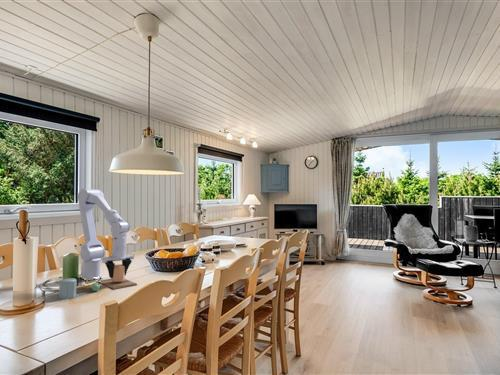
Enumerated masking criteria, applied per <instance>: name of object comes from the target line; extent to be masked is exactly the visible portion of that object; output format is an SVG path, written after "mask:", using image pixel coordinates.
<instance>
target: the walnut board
mask: <svg viewBox="0 0 500 375" xmlns="http://www.w3.org/2000/svg"><path fill="white" fill-rule="evenodd" d="M100 280H101V282H100V283H99V284H102V285H103V286H105V287H108V288H109V289H112V290H114V291H115V290H119V289H125V288H129V287H130V288H131V287H134V286H138V284H137V283H136V282H133V281H131V280H128V279H126V278H125V279H124V280H123V281H119V282H113V281H111V278H106V279H105V278H104V279H100Z"/></svg>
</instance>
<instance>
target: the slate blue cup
mask: <svg viewBox="0 0 500 375" xmlns="http://www.w3.org/2000/svg"><path fill="white" fill-rule="evenodd" d="M77 284H78V280H77V278H74V277H68V278H62V279H60V280H59V286H58V287H59V288H58V290H59V291H58V298H59V299H61V300H68V299H74V298H75V297H76V296H77V286H78V285H77Z"/></svg>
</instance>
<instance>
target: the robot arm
mask: <svg viewBox="0 0 500 375" xmlns="http://www.w3.org/2000/svg"><path fill="white" fill-rule="evenodd" d="M76 195H77V201H78V207H79V214H80V221H81V224H82V230H83V231H82V232H83V236H84V243H82V245H81V246H80V258H81V260H82V262H81V268H80V276H82V277H84V278H93V277H98V276H100V277H101V279H100V280H104V277H102V276H101V263H104V264H105V266H106V268H107V272H108V277H109V279H111V278H113V270H114V266H115V265H116V263H115V262H120V261H121V264H122V265H125V276H127V273H128V269H129V267H130V266H131V264H132V262H133V261H132V260H135V255H134V254H126V249H127V233H129V231H130V228H131V227H130V226H131V225H130V223H129V221H127V220H125V219H123V218H122V217H121V215H120V214H119V213H118V210H116V209H112V208H111V207H110V205H109V203H108V202H107V201H106V199H105V196H104V195H105V194H104V192H103V191H102V190H101V189H99V188H98V189H97V188H94V189H93V188H92V189H91V188H85V187H84V188H81V189H80V190H79V192H78V193H77V194H76ZM95 206H98V208H99V209H100V210H101V211H102V212H103V213H104V219H105V220H106V221H107V223H108V224H109V226H110V232H111V234H112V251H111V252H112V254H111V255H110V256H107V257H105V254H106V249H105V247H104V246H103V245H104V244H103V242H102V241H100V240H99V239H98V235H97V230H96V225H95V224H96V223H95V219H94V212H93V208H94V207H95Z"/></svg>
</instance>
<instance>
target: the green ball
mask: <svg viewBox="0 0 500 375" xmlns="http://www.w3.org/2000/svg"><path fill="white" fill-rule="evenodd" d="M100 287H101V286H100V285H99V283H95V284H93V285H92V286H91V290H92V291H93V292H98V291H99V290H100Z"/></svg>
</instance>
